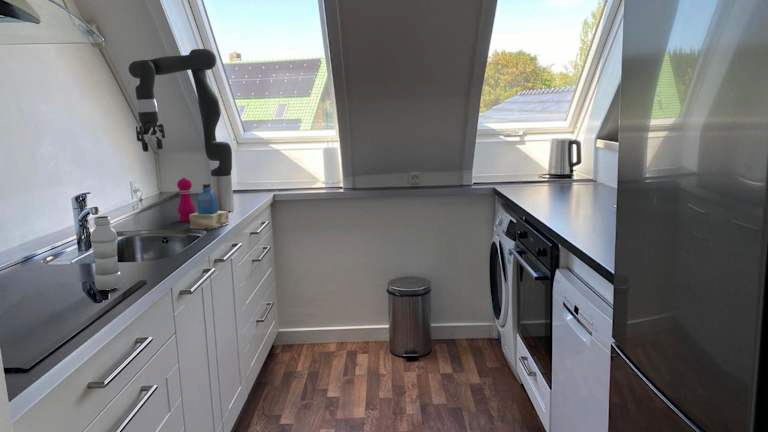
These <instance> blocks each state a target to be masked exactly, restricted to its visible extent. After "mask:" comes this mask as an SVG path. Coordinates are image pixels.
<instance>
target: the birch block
mask: <svg viewBox="0 0 768 432" xmlns="http://www.w3.org/2000/svg"><path fill="white" fill-rule="evenodd" d="M189 216H190V221H189V228H190V229H196V230H197V229H198V230H199V229H200V230H206V229H205V228H214V227H217V226H220V225H223V224H226V223H229V222H230V221H229V212H228V211H218V212H217V213H215V214H198V211H197V212H194V213H193V214H190V215H189ZM229 224H230V223H229Z"/></svg>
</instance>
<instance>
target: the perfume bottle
mask: <svg viewBox="0 0 768 432" xmlns="http://www.w3.org/2000/svg"><path fill="white" fill-rule="evenodd" d="M196 200H197V212H198V214H215V213H217V212H218V202H217V196H216V195H215V193H214V192H212V186H211V184H210V183H203V184H202V191H201V193H200V194H199V195H198V198H197V199H196Z"/></svg>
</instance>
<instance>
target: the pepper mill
mask: <svg viewBox="0 0 768 432" xmlns="http://www.w3.org/2000/svg"><path fill="white" fill-rule="evenodd" d="M176 186H177V188H178V189H179V190H178V193H179V196H180V197H179V198H180V199H179V204H178V206H177V214H179V221H180V222H184V223H185V222H190V216H189V215H190V214H193V213H196V208H195V205H194V203H193V201H192V199H191V193H192V190H191V188H192V187H193V186H192V181H191V180H190V179H188V178H187V177H186V175H184V174H183V175H181V179H179V180H178V181H177V184H176Z"/></svg>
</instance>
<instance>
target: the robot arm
mask: <svg viewBox="0 0 768 432" xmlns="http://www.w3.org/2000/svg"><path fill="white" fill-rule="evenodd" d="M217 61H218V60H217V55H216V54H215V52H214V51H212V50H211V49H209V48H193V49H191V50H190V52H189V53H188V54H185V55H168V56H161V57H155V58H151V59H141V60H134V61H132V62H131V63H130V64H129V65H128V73H129V74H130V76H132V77H133V78H134V79H139V84H138V85H136V86H135V87H134V88H135V89H134V90H135V97H136V108H137V115H138V116H137V117H138V123H140V124H141V125H138V126H135V133H136V141H137V142H140V143H141V148H142V151H143V152H144V153H145V152H146V153H147V152H149V151H150V150H149V149H150V148H149V142H148V140H149V138H151V137H154V138H155V140H156V148H157V150H163V140H164V139H165V138H166V134H165V128H164V124H163V123H158V122H160V121H159V120H160V118H159V113H158V105H157V102H156V95H155V83H156V76H163V75H170V74H175V73H180V72H185V71H189V70H190V72H191V76H192V79H193V81H194V88H195V92H196V98H197V103H198V109H199V114H200V119H201V123H202V129H203V130H202V131H203V141H204V142H203V143H204V150H205V156H206V157H207V159H208V160H209V161H211V162H218V165H217V167H215V168H212V169H211V171H210V177H211V178H210V179H211V180H210V181H211V192H214V193H215V195H216V196H217V202H218V211H228V213H229V211H230V212H233V211H234V210H235V204H234V203H235V201H234V190H233V181H232V170H233V149H232V146H231V145H230V143H229V142H228V141H217V135H216V130H217V126H218V123H219V121H220V118H221V115H222V110H221V104H220V100H219V96H218V95H217V93H216V91H215V90H214V88H213V86H212V85H211V83H210V82H209V81H210V80H209V79H208V75H207V71H210V70H213V68H215V67H216V65H217V63H218V62H217ZM233 209H234V210H233Z"/></svg>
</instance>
